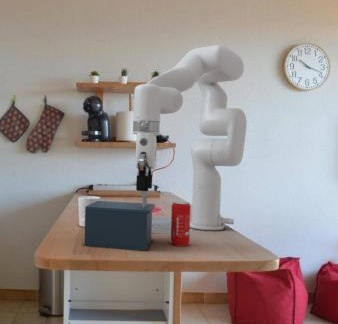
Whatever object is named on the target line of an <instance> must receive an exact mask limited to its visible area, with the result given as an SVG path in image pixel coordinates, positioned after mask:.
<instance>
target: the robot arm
mask: <svg viewBox="0 0 338 324" xmlns="http://www.w3.org/2000/svg"><path fill="white" fill-rule="evenodd" d="M244 65H245V64H244V61H243V59H242V58H241V56H240V55H238V54H237V53H236V52H234V51H233V50H232V49H231V48H228V47H227V46H225V45H222V44H213V45H207V46H202V47H196V48H193V49H191V50H189V51H188V52H187V53H186V54H185V55H184V56H183V57H182V58H181V59H180V60H179V62H178V63H176V64H175V66H174V67H172V68H171V69H169V70H166V71H165V72H163V73H161V74H159V75H156V76H155V77H153V78H152V79H150V80H149V81H148V82H146V83H142V84H138V85H136V86H135V87H134V90H133V91H134V92H133V120H132V134H133V135H136V140H135V141H136V142H135V167H136V169H137V172H136V183H135V190H136V191H137V192H141V191H148V190H149V189H151V190H152V189H153V170H155V169H156V168H157V136H160V134H161V115H166V114H167V115H169V114H174V113H176V112H178V111H180V110H181V108H182V107H183V104H184V98H183V95H182V93H183V92H186V91H188V90H189V89H192V88H193V87H194V86H195V85H196V83H197V85H198V87H199V89H200V91H201V95H202V101H201V102H202V103H201V111H200V118H199V131H200V133H201V134H202V135H204V136H207V137H208V136H210V137H227V138H200V139H197V140H195V142H193V143H192V145H191V148H190V156H191V161H192V162H191V163H192V205H191V207H192V209H191V220H190V229H194V230H202V231H222V230H224V229H225V225H234V224H235V219H234V218H230V217H224V216H223V217H222V214H221V196H222V194H221V193H222V178H221V175H220V173H219V171H218V169H217V168H216V167H237V166H238V165H240V164H241V162H242V160H243V157H244V151H245V141H246V133H247V116H246V113H245V111H244V110H242V109H241V108H238V107H232V108H231V107H230V108H229V107H228V108H227V105H228V95H227V93H226V91H225V90H224V89H223V87H222V86H221V85H220V84H219V83H225V82H233V81H237V80H240V79H241V77H242V76H243V74H244V70H245V66H244Z"/></svg>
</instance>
